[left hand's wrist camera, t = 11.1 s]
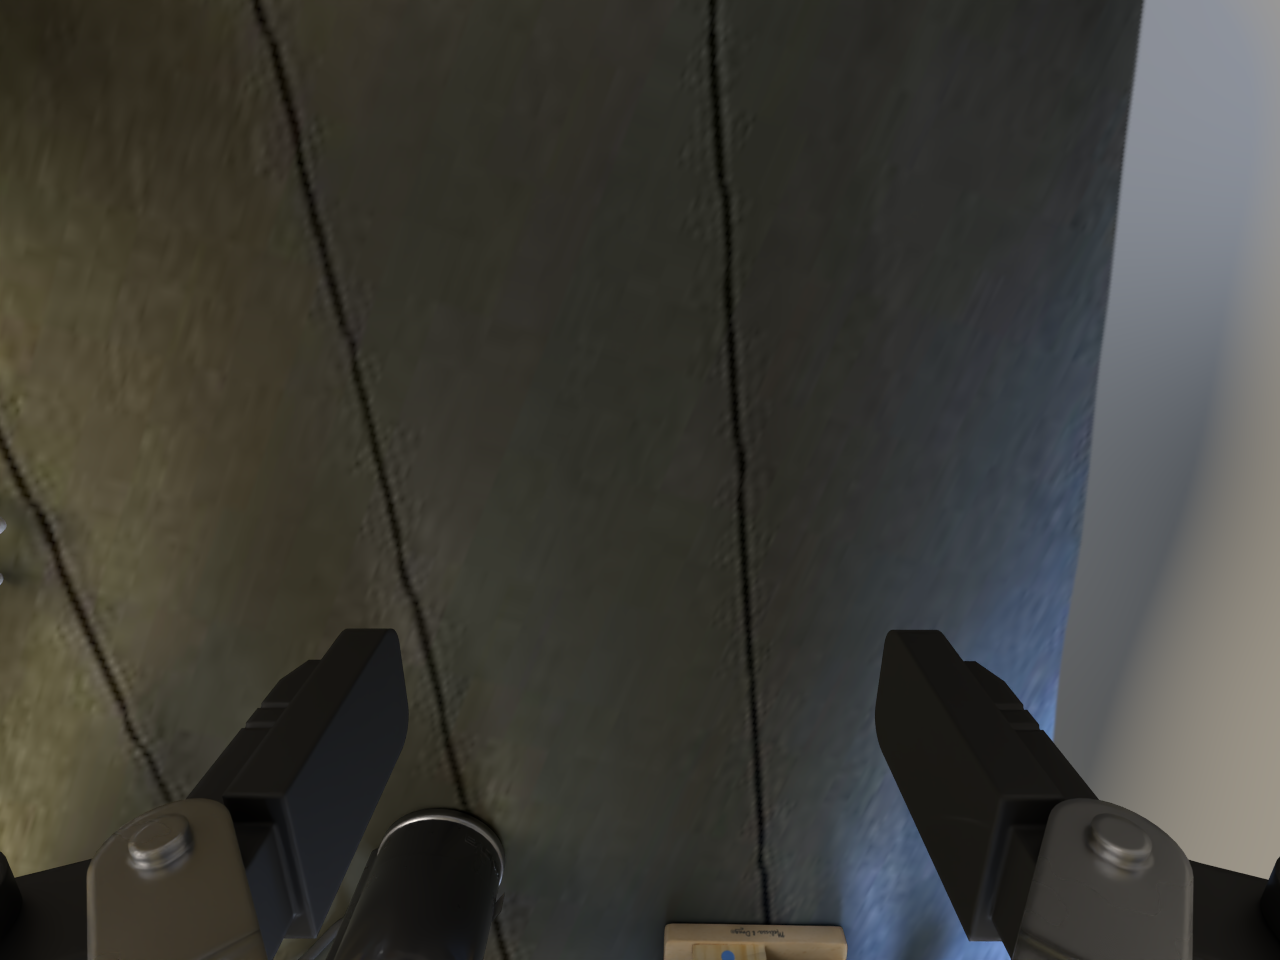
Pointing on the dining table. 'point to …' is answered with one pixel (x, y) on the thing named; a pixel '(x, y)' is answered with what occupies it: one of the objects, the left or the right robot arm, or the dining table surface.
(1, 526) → the molecular model
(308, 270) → the dining table surface
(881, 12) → the dining table surface
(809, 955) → the pounding bench toy
